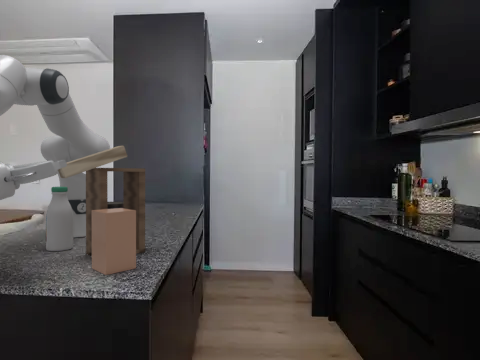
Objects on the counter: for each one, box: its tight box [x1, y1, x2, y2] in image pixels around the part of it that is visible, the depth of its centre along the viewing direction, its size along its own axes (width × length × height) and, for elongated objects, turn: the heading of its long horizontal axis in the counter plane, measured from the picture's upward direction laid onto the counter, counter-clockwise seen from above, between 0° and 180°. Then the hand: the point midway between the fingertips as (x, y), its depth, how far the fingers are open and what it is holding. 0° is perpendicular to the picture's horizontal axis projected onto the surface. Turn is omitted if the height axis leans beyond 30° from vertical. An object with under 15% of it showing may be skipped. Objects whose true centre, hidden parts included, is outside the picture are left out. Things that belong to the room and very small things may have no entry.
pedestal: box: [91, 208, 137, 276], centre depth 86 cm, size 8×8×15 cm
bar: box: [58, 145, 128, 178], centre depth 97 cm, size 4×19×4 cm, turn 137°
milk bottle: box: [45, 186, 74, 252], centre depth 107 cm, size 8×8×20 cm
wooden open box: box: [85, 167, 146, 258], centre depth 102 cm, size 10×14×26 cm
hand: (55, 164), depth 88 cm, fingers open, 8 cm apart
